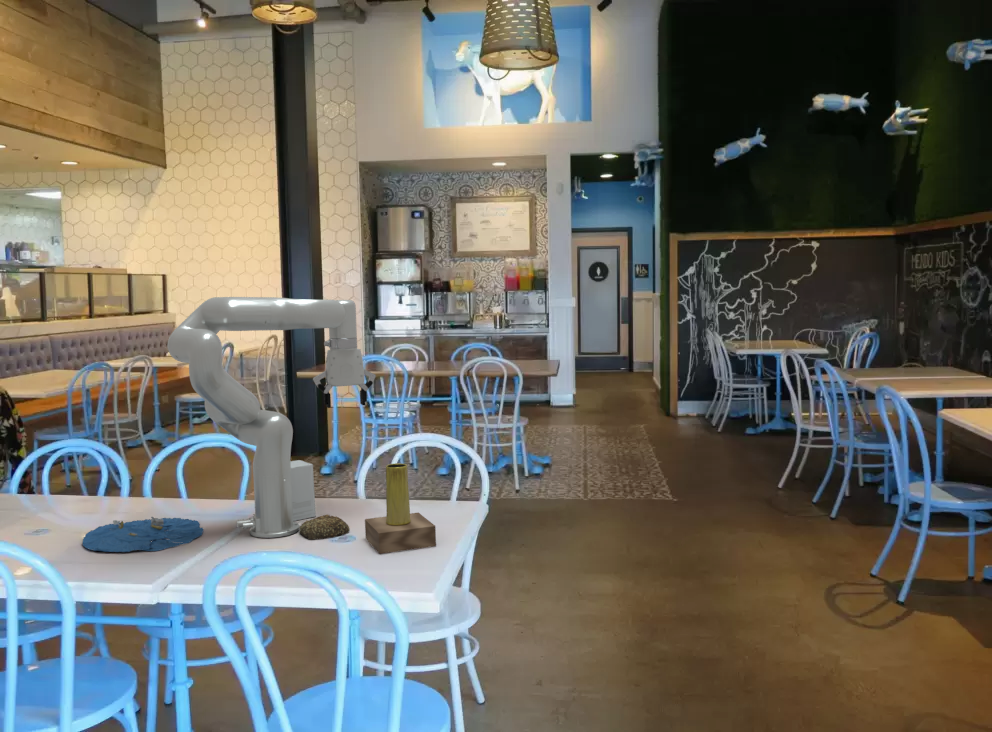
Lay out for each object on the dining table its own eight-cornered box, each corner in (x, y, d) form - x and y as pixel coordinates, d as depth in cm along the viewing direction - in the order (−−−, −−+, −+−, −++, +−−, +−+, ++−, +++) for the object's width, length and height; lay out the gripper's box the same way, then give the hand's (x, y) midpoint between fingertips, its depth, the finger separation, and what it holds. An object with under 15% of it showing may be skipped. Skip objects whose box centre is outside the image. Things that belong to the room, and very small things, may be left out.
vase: (387, 526, 207) (385, 468, 206) (384, 520, 213) (382, 463, 212) (412, 524, 209) (410, 467, 208) (408, 518, 215) (407, 462, 214)
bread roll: (304, 542, 214) (303, 523, 214) (296, 530, 226) (295, 511, 225) (355, 536, 219) (354, 517, 219) (344, 524, 230) (344, 506, 230)
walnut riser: (379, 553, 203) (378, 533, 202) (365, 538, 215) (364, 519, 215) (436, 546, 208) (435, 525, 207) (419, 531, 221) (418, 512, 220)
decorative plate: (229, 529, 233) (229, 510, 232) (158, 562, 204) (157, 541, 204) (136, 519, 241) (136, 501, 240) (55, 550, 212) (55, 529, 211)
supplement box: (302, 511, 245) (300, 459, 243) (316, 517, 238) (314, 463, 236) (272, 516, 239) (269, 463, 238) (285, 523, 232) (283, 468, 231)
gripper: (314, 346, 230) (317, 410, 232) (377, 343, 237) (379, 405, 238) (309, 345, 237) (312, 406, 239) (370, 342, 244) (373, 402, 245)
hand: (345, 406), depth 238 cm, fingers open, 9 cm apart
